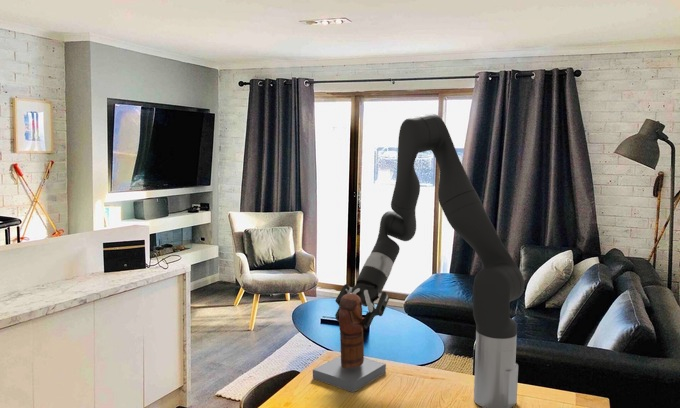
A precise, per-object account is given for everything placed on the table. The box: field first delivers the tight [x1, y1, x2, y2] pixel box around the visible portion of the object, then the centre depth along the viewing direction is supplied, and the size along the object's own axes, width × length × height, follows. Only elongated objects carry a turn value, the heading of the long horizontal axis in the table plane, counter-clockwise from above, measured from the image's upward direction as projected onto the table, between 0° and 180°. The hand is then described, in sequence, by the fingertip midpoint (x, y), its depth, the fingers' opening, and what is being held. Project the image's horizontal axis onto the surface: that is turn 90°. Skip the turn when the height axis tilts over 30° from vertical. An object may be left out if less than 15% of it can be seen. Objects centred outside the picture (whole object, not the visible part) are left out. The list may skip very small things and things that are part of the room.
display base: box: [312, 355, 387, 393], centre depth 147 cm, size 13×15×2 cm
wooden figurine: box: [338, 292, 365, 368], centre depth 145 cm, size 12×6×18 cm, turn 177°
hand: (350, 323), depth 145 cm, fingers closed on wooden figurine, 8 cm apart
